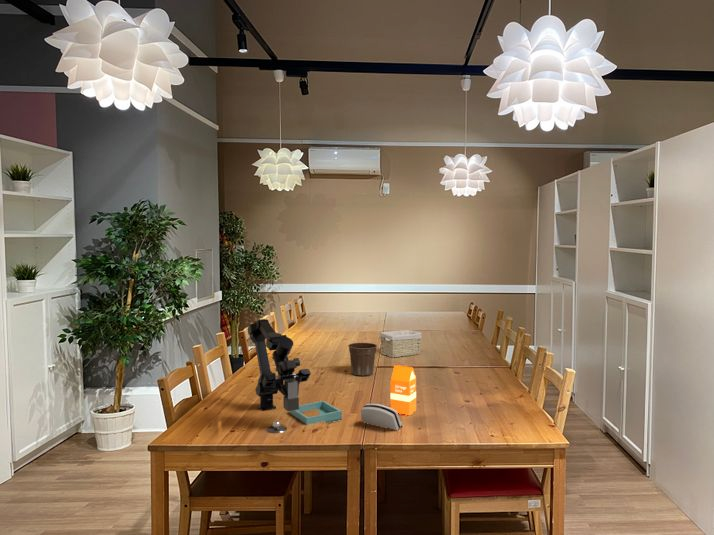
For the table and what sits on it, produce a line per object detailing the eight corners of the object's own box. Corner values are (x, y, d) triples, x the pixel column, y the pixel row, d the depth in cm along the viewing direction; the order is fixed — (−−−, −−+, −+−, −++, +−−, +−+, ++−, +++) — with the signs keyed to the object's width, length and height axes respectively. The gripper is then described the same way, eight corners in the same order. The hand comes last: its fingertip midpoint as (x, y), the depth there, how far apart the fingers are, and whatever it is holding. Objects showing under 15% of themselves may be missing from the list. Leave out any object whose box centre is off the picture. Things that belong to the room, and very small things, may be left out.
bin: (290, 416, 209) (289, 407, 208) (323, 409, 217) (323, 400, 217) (306, 428, 195) (306, 418, 195) (341, 420, 204) (341, 411, 203)
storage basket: (408, 350, 337) (408, 328, 337) (423, 354, 323) (423, 332, 323) (378, 354, 326) (378, 332, 325) (392, 359, 312) (392, 336, 311)
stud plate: (262, 431, 192) (262, 419, 191) (282, 427, 196) (281, 415, 196) (270, 438, 185) (270, 426, 185) (290, 434, 189) (290, 421, 189)
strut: (283, 407, 195) (283, 380, 194) (294, 405, 197) (294, 378, 196) (287, 411, 191) (287, 383, 190) (298, 409, 193) (298, 381, 192)
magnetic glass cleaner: (403, 426, 196) (399, 405, 193) (398, 434, 193) (394, 413, 189) (367, 418, 206) (363, 398, 202) (362, 426, 202) (357, 405, 199)
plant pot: (378, 370, 284) (378, 342, 283) (376, 378, 268) (376, 348, 267) (350, 369, 286) (349, 342, 285) (346, 377, 270) (346, 348, 269)
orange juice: (409, 416, 209) (409, 369, 208) (390, 412, 213) (390, 366, 212) (416, 410, 216) (416, 365, 215) (397, 407, 220) (397, 362, 219)
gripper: (264, 354, 191) (274, 389, 182) (308, 349, 201) (320, 382, 192) (258, 369, 199) (267, 404, 190) (301, 363, 208) (312, 397, 199)
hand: (292, 396), depth 192 cm, fingers closed on strut, 4 cm apart
